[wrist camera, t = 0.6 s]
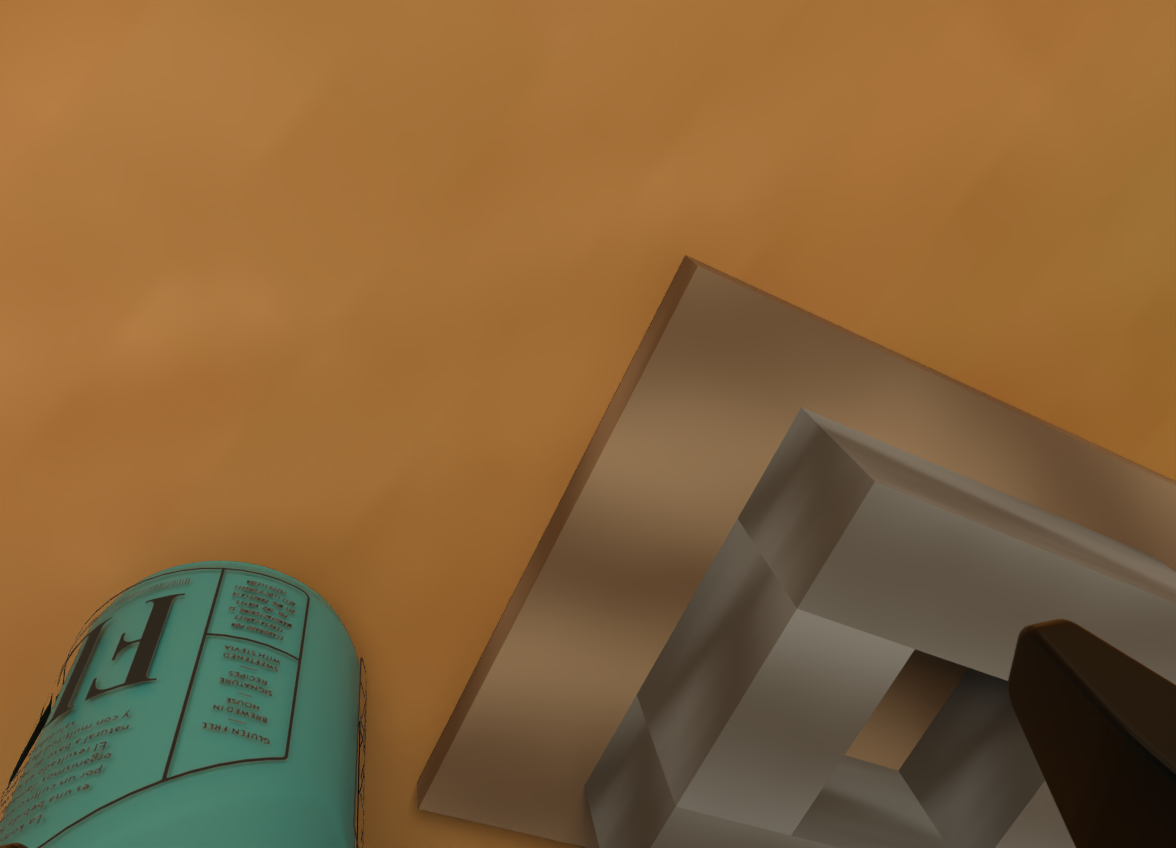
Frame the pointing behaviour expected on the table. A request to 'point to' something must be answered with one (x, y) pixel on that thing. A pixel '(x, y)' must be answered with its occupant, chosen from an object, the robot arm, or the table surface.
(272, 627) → the beverage bottle
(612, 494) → the socket board
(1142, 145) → the table surface
